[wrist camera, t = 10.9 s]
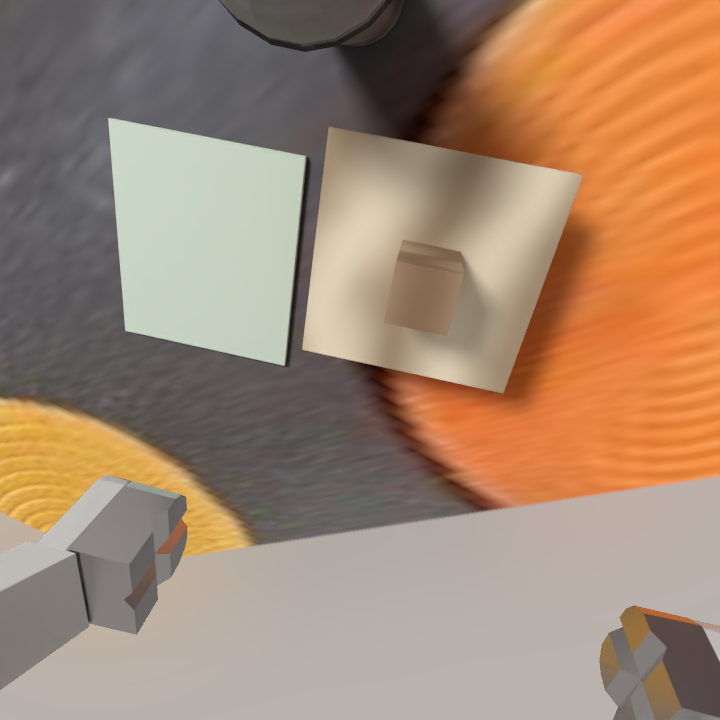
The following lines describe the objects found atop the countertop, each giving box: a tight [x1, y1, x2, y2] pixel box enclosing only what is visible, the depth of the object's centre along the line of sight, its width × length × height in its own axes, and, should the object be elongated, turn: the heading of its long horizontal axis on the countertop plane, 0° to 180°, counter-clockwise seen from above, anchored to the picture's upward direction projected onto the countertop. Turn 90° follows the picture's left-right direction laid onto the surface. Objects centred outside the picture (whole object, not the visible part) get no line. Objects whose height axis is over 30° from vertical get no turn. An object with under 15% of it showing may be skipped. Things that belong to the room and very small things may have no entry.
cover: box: [302, 127, 583, 393], centre depth 24 cm, size 12×12×5 cm
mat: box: [108, 118, 307, 366], centre depth 31 cm, size 12×14×1 cm
